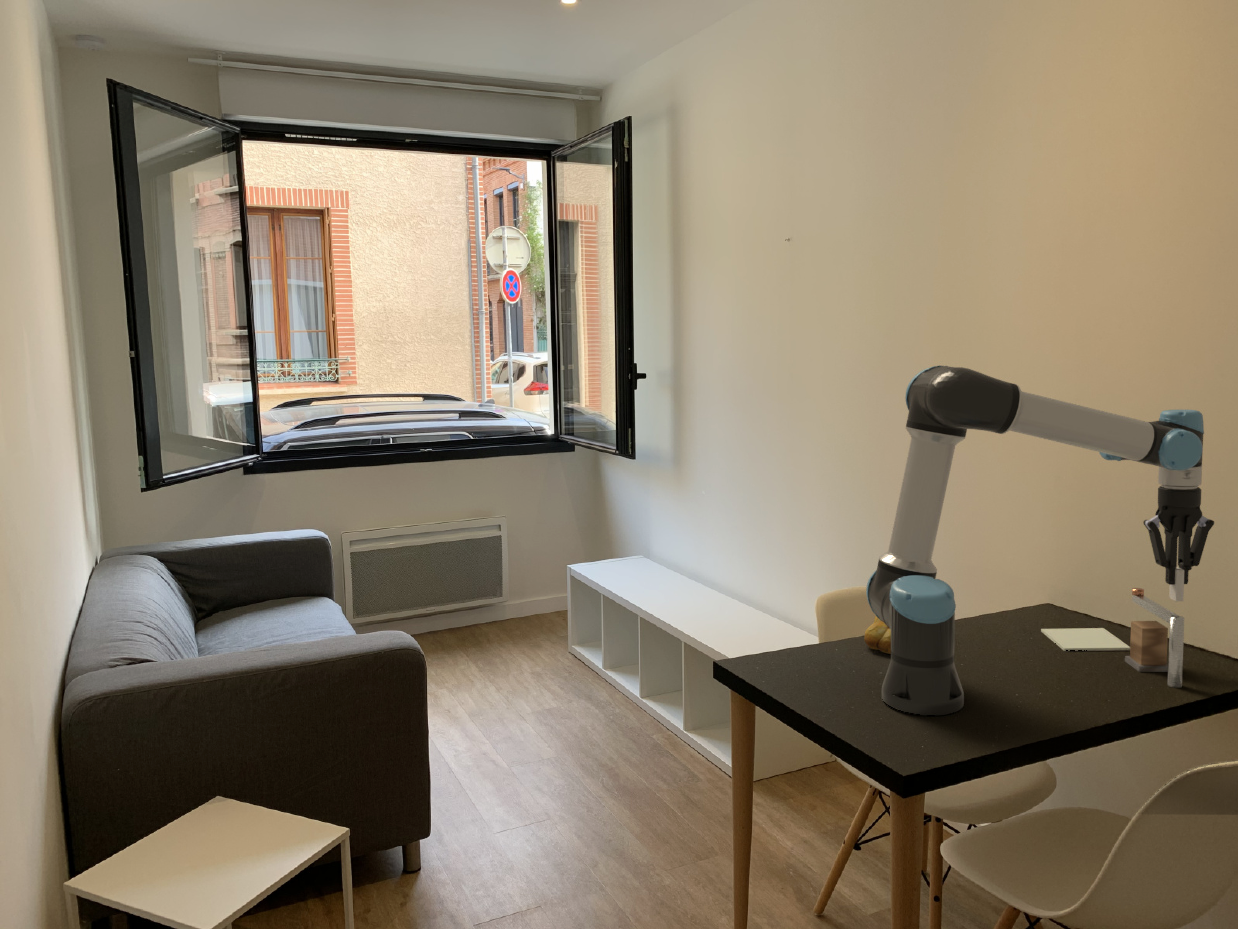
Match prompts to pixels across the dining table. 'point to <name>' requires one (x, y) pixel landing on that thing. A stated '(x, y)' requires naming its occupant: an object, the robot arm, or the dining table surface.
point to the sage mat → (1085, 639)
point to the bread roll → (878, 636)
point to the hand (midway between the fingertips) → (1176, 599)
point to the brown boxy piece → (1148, 647)
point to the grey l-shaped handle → (1174, 635)
